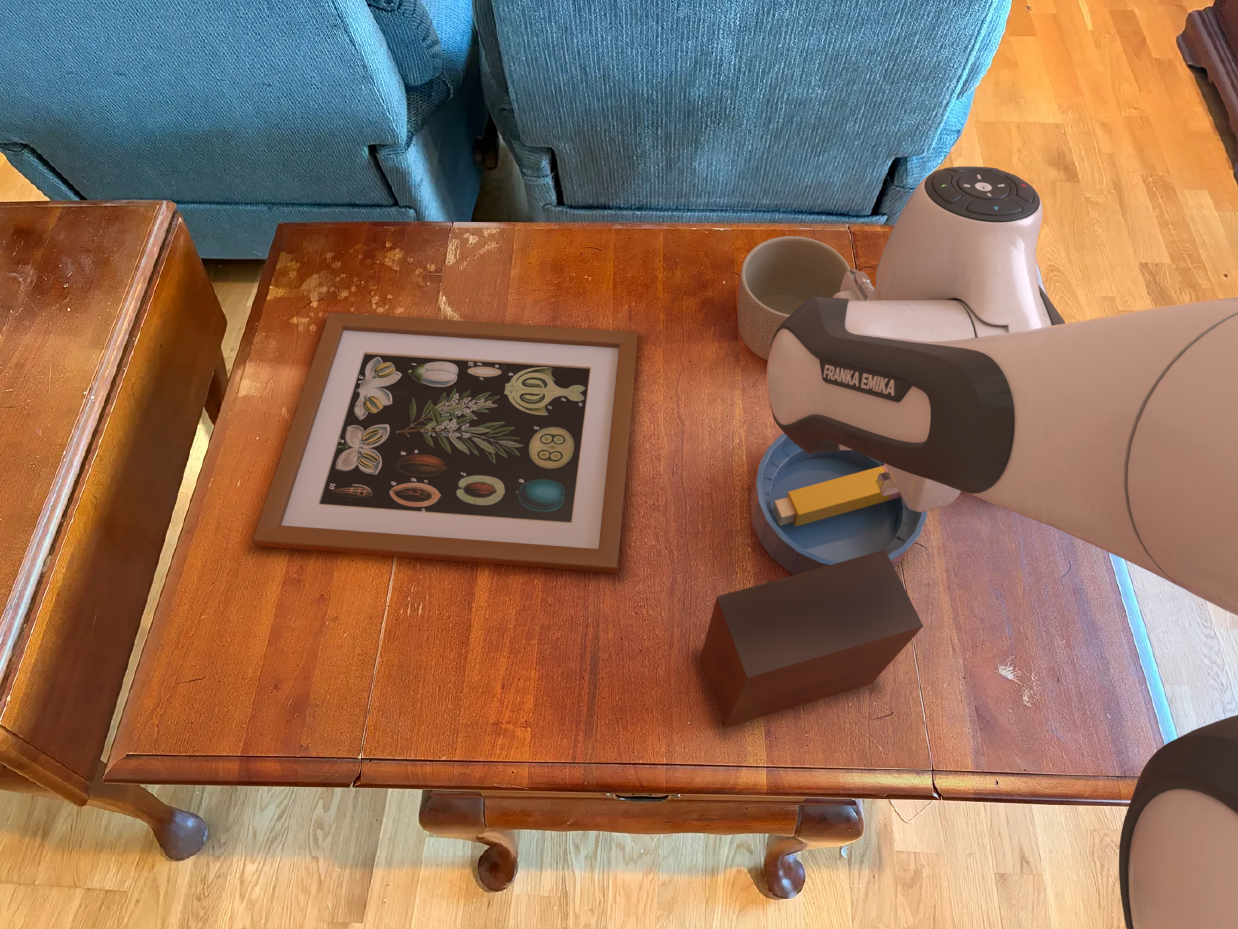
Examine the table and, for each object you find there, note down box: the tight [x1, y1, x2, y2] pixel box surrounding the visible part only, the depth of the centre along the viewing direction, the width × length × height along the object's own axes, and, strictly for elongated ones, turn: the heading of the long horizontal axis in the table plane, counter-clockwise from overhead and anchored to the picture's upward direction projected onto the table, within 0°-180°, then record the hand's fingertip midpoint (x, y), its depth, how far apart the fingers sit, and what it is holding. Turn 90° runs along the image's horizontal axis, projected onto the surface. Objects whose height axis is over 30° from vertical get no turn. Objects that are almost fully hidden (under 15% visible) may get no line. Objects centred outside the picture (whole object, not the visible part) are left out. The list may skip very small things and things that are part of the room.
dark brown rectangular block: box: [700, 550, 924, 729], centre depth 74 cm, size 7×15×16 cm, turn 106°
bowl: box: [749, 432, 928, 575], centre depth 87 cm, size 17×17×6 cm
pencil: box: [772, 465, 902, 527], centre depth 86 cm, size 14×3×3 cm, turn 106°
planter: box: [737, 235, 851, 362], centre depth 98 cm, size 12×12×11 cm
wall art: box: [252, 312, 639, 574], centre depth 94 cm, size 31×2×38 cm
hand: (864, 445), depth 77 cm, fingers open, 8 cm apart
